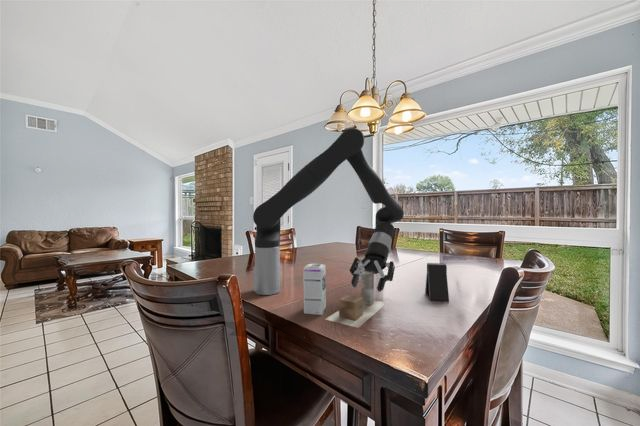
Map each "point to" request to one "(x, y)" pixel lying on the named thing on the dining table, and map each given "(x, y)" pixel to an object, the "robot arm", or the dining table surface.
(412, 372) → the dining table surface
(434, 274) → the door stopper
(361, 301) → the walnut block
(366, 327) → the dining table surface
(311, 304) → the syrup box
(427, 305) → the dining table surface
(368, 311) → the pale base with post
